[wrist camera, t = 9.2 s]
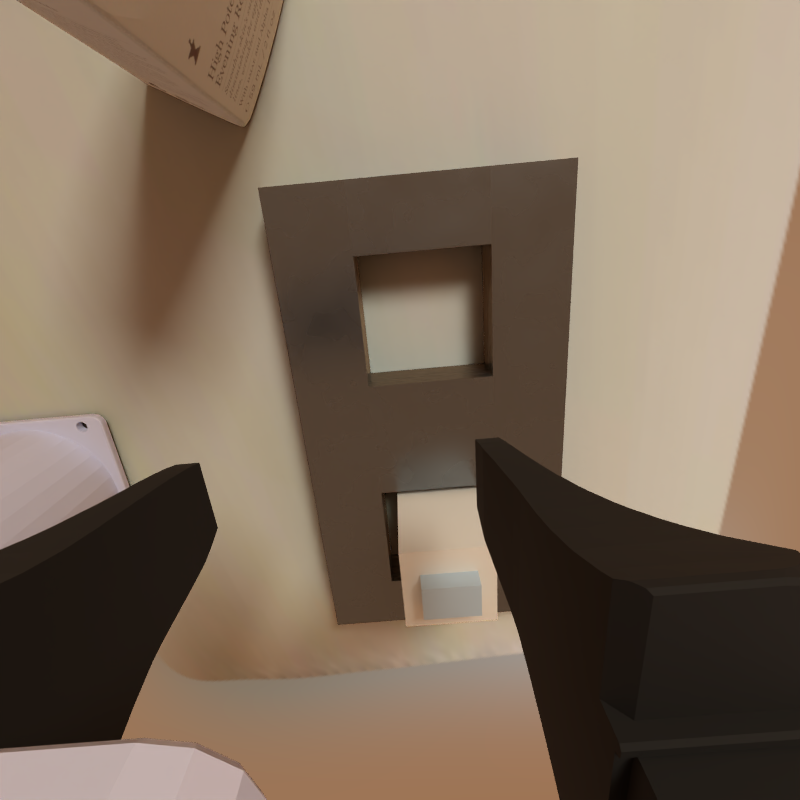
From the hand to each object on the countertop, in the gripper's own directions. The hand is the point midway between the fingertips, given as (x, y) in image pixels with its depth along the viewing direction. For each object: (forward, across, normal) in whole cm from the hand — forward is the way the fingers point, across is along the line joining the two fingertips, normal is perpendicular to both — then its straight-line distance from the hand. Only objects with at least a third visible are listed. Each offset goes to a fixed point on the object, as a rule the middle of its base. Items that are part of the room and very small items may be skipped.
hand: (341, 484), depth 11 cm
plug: (+10, -3, +8) cm, 14 cm away
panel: (+10, -3, +3) cm, 11 cm away
